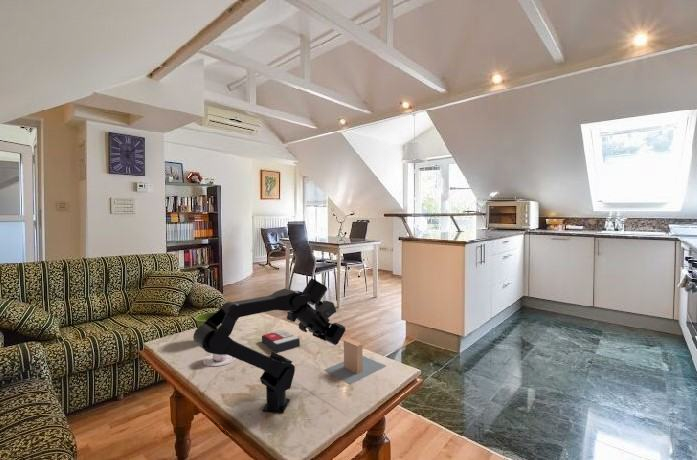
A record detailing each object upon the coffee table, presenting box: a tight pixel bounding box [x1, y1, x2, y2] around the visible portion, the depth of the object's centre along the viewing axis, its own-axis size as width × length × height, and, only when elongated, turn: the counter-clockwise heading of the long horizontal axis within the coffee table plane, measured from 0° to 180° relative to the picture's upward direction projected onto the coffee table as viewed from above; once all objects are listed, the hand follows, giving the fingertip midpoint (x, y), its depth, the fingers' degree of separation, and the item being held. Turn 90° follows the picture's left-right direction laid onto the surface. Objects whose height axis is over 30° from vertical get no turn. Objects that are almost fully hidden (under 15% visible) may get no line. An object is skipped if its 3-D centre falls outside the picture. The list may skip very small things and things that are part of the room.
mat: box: [324, 355, 387, 385], centre depth 125 cm, size 18×14×1 cm
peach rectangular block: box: [343, 338, 363, 374], centre depth 124 cm, size 3×7×10 cm, turn 43°
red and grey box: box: [261, 329, 301, 354], centre depth 149 cm, size 11×4×15 cm
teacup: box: [202, 353, 236, 367], centre depth 134 cm, size 12×12×6 cm
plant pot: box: [194, 311, 221, 329], centre depth 153 cm, size 12×12×11 cm
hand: (334, 340), depth 118 cm, fingers closed
